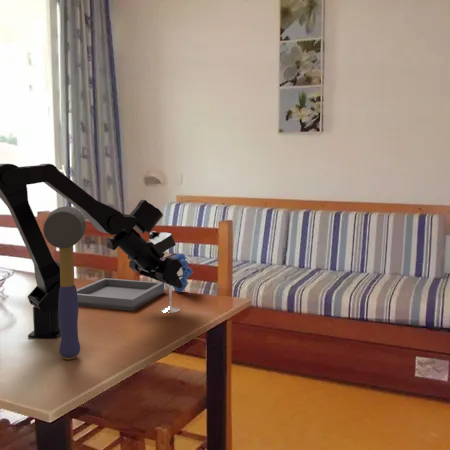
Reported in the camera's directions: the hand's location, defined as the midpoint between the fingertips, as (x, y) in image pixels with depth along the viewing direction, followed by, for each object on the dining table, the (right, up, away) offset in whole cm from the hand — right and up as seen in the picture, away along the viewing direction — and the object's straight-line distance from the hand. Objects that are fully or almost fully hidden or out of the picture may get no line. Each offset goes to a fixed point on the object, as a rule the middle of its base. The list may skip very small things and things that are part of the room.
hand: (174, 284), depth 134 cm
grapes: (+1, -5, +19) cm, 19 cm away
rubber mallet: (-17, -11, -33) cm, 39 cm away
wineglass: (-1, -7, 0) cm, 7 cm away
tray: (-17, -5, +11) cm, 21 cm away
